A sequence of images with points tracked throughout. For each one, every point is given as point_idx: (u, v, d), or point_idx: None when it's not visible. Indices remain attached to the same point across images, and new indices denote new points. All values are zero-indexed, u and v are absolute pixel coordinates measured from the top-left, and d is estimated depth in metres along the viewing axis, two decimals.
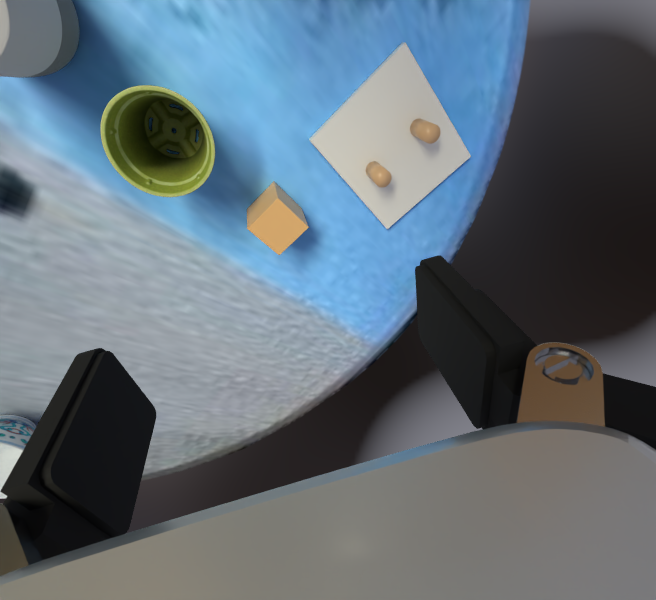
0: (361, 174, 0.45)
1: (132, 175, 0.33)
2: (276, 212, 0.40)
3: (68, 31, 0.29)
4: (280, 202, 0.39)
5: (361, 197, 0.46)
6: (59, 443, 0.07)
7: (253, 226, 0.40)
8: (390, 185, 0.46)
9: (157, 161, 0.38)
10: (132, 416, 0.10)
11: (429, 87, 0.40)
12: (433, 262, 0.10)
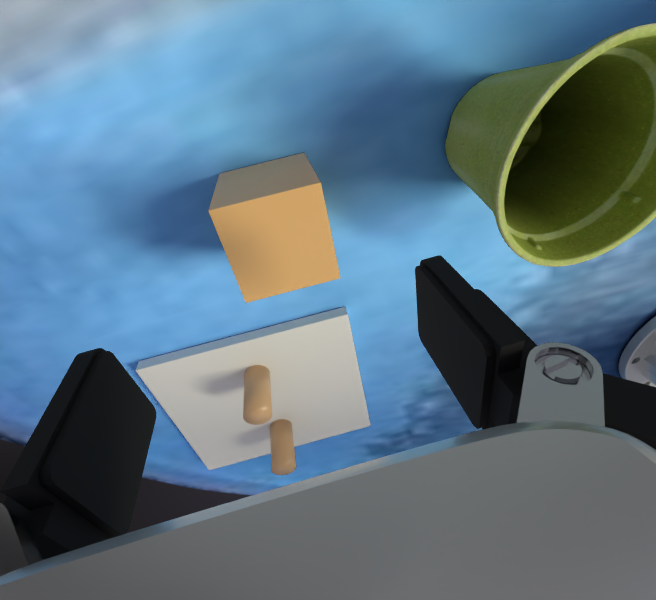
0: (259, 358, 0.27)
1: (626, 42, 0.13)
2: (315, 261, 0.17)
3: None
4: (329, 278, 0.18)
5: (220, 349, 0.26)
6: (59, 443, 0.07)
7: (317, 199, 0.16)
8: (218, 388, 0.28)
9: (514, 72, 0.18)
10: (132, 416, 0.10)
11: (316, 439, 0.34)
12: (433, 262, 0.10)
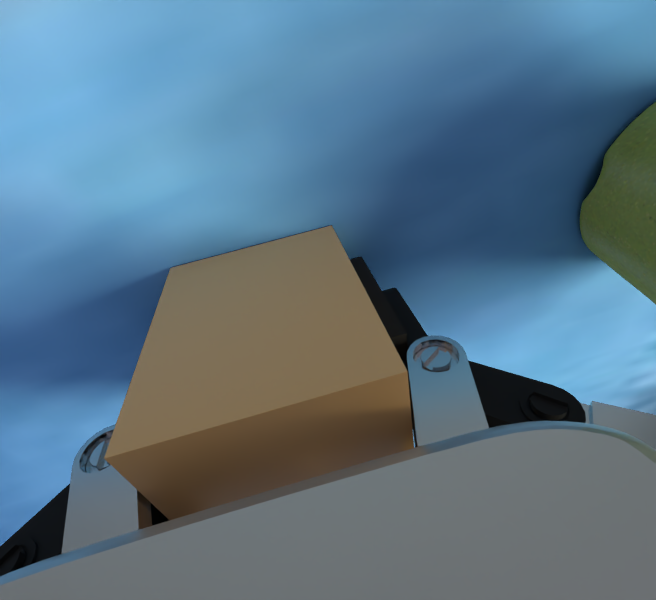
0: None
1: None
2: None
3: None
4: None
5: None
6: None
7: (392, 401, 0.06)
8: None
9: None
10: None
11: None
12: (353, 262, 0.11)
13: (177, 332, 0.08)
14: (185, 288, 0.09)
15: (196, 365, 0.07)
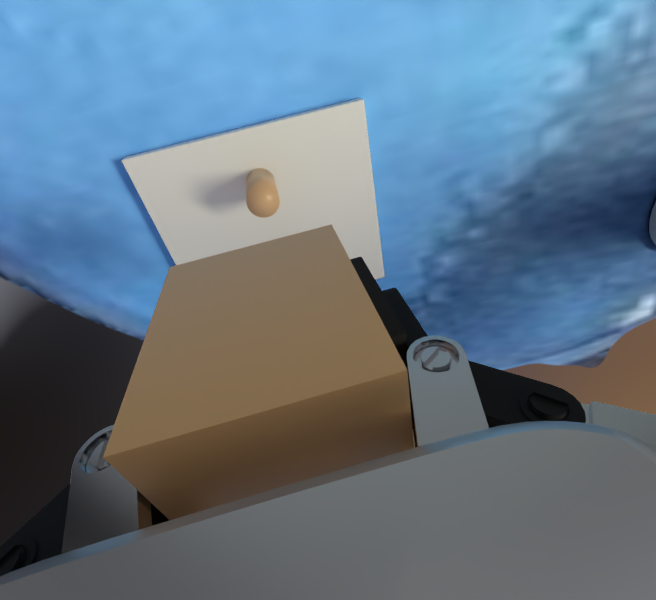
0: (263, 158, 0.24)
1: None
2: None
3: None
4: None
5: (219, 139, 0.23)
6: None
7: (391, 400, 0.06)
8: (217, 200, 0.25)
9: None
10: None
11: None
12: (353, 262, 0.11)
13: (176, 331, 0.08)
14: (185, 287, 0.09)
15: (195, 364, 0.07)
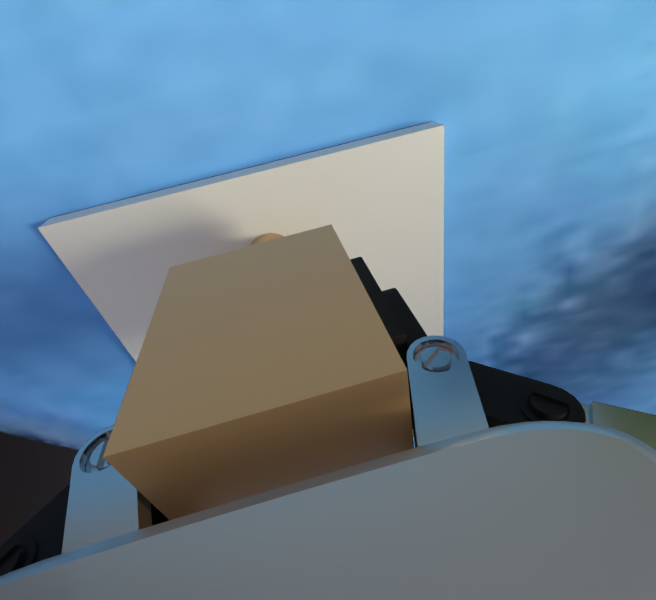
0: (276, 219, 0.15)
1: None
2: None
3: None
4: None
5: (203, 191, 0.14)
6: None
7: (391, 400, 0.06)
8: None
9: None
10: None
11: None
12: (353, 263, 0.11)
13: (176, 331, 0.08)
14: (184, 287, 0.09)
15: (195, 364, 0.07)
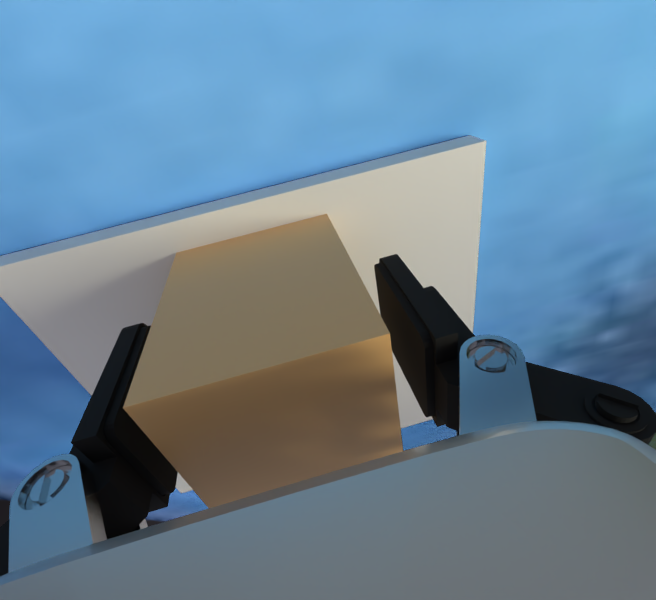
0: None
1: None
2: (362, 455, 0.09)
3: None
4: None
5: (188, 224, 0.11)
6: (118, 403, 0.08)
7: (377, 362, 0.07)
8: None
9: None
10: None
11: None
12: (389, 260, 0.10)
13: (184, 306, 0.09)
14: (191, 270, 0.10)
15: (202, 333, 0.08)
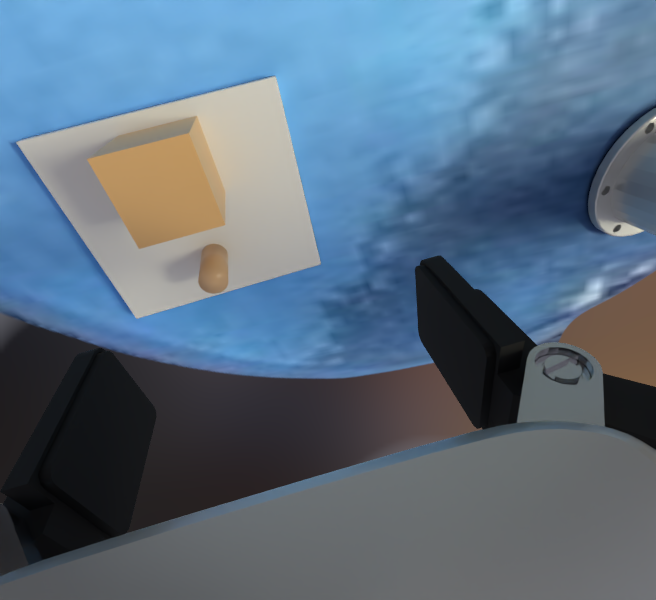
0: None
1: None
2: (198, 208, 0.20)
3: None
4: (215, 225, 0.20)
5: (123, 118, 0.22)
6: (59, 443, 0.07)
7: (188, 148, 0.18)
8: None
9: None
10: (132, 416, 0.10)
11: (259, 280, 0.30)
12: (433, 262, 0.10)
13: (116, 143, 0.19)
14: (123, 137, 0.21)
15: (121, 145, 0.18)
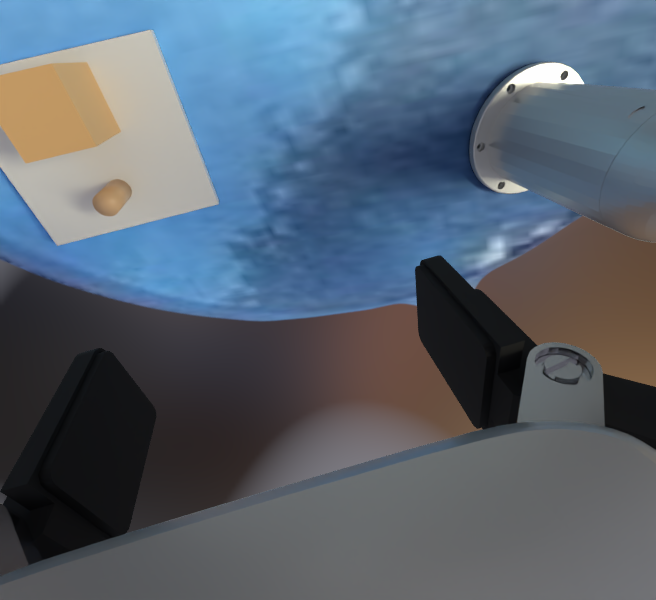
0: None
1: None
2: (70, 130, 0.24)
3: None
4: (87, 145, 0.25)
5: (23, 62, 0.27)
6: (59, 443, 0.07)
7: (53, 77, 0.23)
8: None
9: None
10: (132, 416, 0.10)
11: (164, 216, 0.35)
12: (433, 262, 0.10)
13: None
14: None
15: None
